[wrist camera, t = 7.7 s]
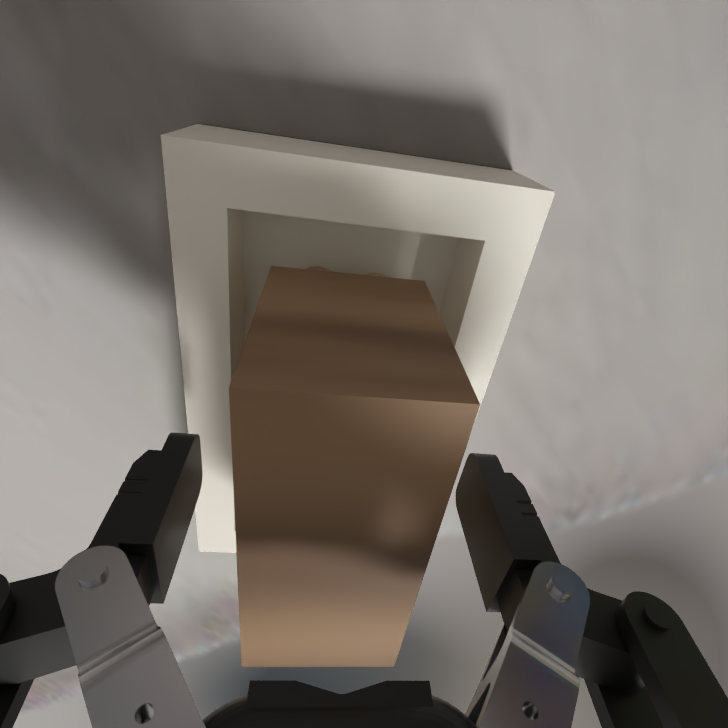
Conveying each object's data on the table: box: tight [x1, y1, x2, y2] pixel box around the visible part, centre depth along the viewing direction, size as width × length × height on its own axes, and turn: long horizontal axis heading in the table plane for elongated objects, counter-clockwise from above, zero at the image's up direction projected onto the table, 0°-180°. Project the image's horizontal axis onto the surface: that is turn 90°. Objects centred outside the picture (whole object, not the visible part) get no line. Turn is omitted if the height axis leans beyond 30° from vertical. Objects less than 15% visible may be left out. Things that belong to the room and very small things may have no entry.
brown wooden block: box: [229, 266, 480, 667], centre depth 13 cm, size 10×4×6 cm, turn 173°
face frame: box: [161, 124, 555, 553], centre depth 17 cm, size 16×10×3 cm, turn 172°
